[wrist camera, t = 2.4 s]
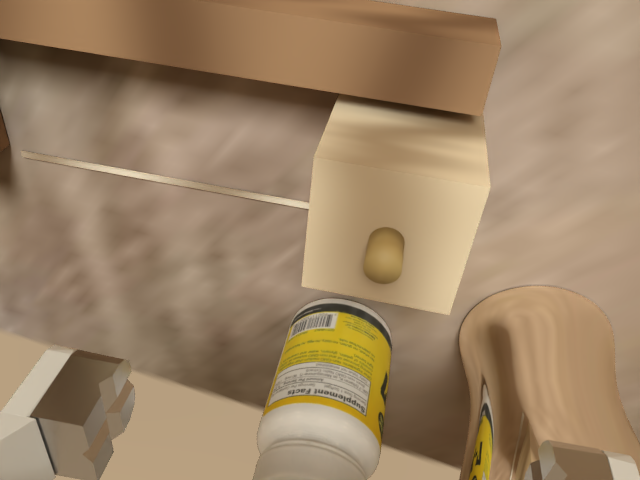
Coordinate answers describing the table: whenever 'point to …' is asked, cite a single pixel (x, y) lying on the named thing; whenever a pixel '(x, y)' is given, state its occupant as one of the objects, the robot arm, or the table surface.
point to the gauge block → (395, 202)
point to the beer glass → (539, 381)
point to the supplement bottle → (327, 396)
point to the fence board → (276, 50)
